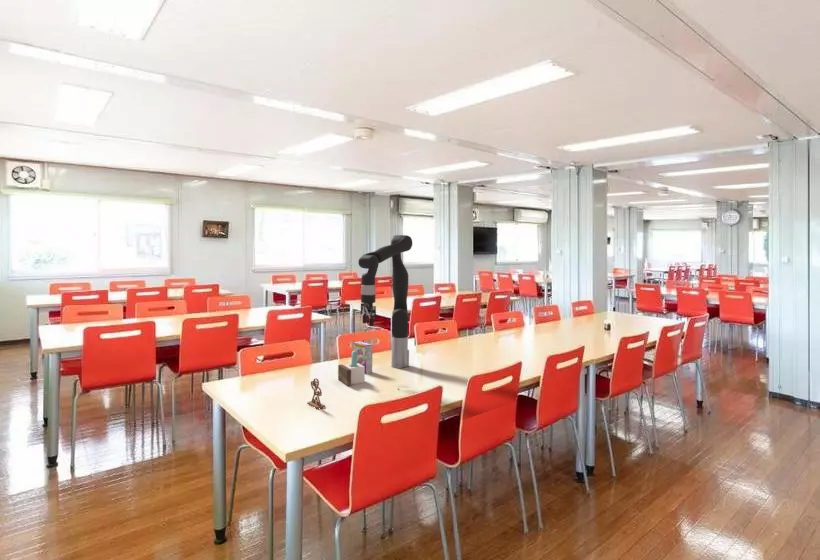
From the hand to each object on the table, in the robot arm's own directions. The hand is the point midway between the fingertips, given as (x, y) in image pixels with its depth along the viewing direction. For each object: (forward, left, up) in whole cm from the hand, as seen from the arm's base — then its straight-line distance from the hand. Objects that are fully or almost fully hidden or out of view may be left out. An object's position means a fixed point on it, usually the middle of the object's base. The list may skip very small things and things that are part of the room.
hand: (367, 324), depth 247 cm
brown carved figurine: (+38, +31, -28) cm, 57 cm away
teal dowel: (+11, +8, -24) cm, 28 cm away
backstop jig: (+4, +8, -28) cm, 29 cm away
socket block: (+11, +8, -27) cm, 30 cm away
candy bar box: (-1, -9, -28) cm, 30 cm away
